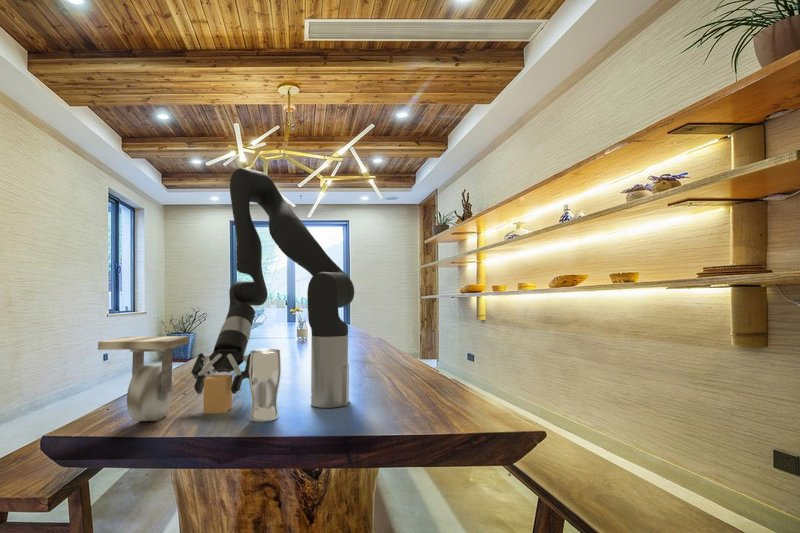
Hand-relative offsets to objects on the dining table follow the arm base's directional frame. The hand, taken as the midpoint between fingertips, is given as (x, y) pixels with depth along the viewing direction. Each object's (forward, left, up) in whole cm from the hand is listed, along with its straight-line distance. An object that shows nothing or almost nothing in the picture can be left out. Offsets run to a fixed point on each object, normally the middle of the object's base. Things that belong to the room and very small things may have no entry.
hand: (215, 392), depth 103 cm
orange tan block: (0, -1, -5) cm, 5 cm away
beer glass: (-13, +6, -5) cm, 15 cm away
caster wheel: (+12, +6, -5) cm, 14 cm away
